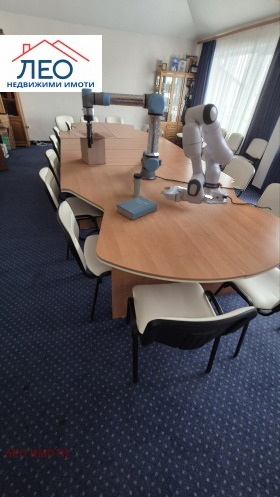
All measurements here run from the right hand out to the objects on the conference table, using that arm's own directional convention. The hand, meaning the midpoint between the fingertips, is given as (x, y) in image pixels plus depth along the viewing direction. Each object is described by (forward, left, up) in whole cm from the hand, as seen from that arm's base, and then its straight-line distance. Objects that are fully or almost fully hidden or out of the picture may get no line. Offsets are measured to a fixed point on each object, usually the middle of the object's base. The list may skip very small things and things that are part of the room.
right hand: (162, 189), depth 159 cm
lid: (+18, -9, +7) cm, 21 cm away
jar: (+18, -9, -9) cm, 22 cm away
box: (+62, -96, -9) cm, 115 cm away
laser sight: (0, -95, -9) cm, 96 cm away
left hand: (+55, -36, +19) cm, 69 cm away
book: (+18, +17, -9) cm, 27 cm away
